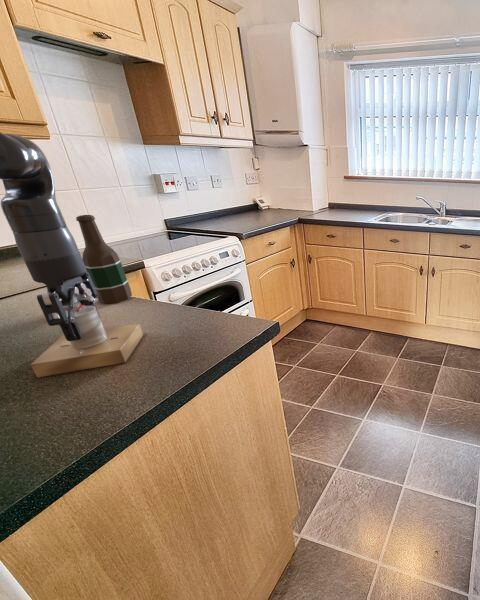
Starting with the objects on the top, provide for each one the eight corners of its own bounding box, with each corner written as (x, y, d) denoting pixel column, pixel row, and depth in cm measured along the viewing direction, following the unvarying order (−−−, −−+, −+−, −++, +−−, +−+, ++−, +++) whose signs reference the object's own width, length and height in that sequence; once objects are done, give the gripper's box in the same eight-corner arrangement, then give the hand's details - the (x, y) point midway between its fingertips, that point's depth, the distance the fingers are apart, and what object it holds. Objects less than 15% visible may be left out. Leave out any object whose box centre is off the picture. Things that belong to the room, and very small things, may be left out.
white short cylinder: (101, 345, 68) (87, 313, 65) (66, 351, 67) (51, 318, 64) (111, 333, 73) (99, 302, 70) (80, 337, 71) (66, 306, 68)
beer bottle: (99, 298, 99) (65, 215, 89) (131, 291, 103) (103, 212, 93) (99, 306, 93) (63, 219, 83) (133, 299, 98) (103, 215, 88)
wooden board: (37, 377, 64) (29, 363, 62) (68, 346, 74) (62, 333, 73) (125, 362, 68) (120, 349, 67) (143, 334, 78) (139, 323, 77)
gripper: (56, 261, 57) (92, 343, 64) (93, 242, 70) (120, 312, 76) (-2, 266, 55) (42, 351, 61) (47, 245, 67) (79, 318, 74)
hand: (85, 329), depth 69 cm, fingers open, 8 cm apart
